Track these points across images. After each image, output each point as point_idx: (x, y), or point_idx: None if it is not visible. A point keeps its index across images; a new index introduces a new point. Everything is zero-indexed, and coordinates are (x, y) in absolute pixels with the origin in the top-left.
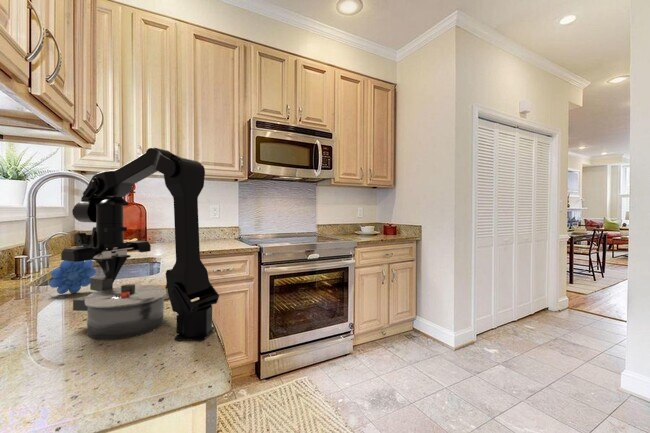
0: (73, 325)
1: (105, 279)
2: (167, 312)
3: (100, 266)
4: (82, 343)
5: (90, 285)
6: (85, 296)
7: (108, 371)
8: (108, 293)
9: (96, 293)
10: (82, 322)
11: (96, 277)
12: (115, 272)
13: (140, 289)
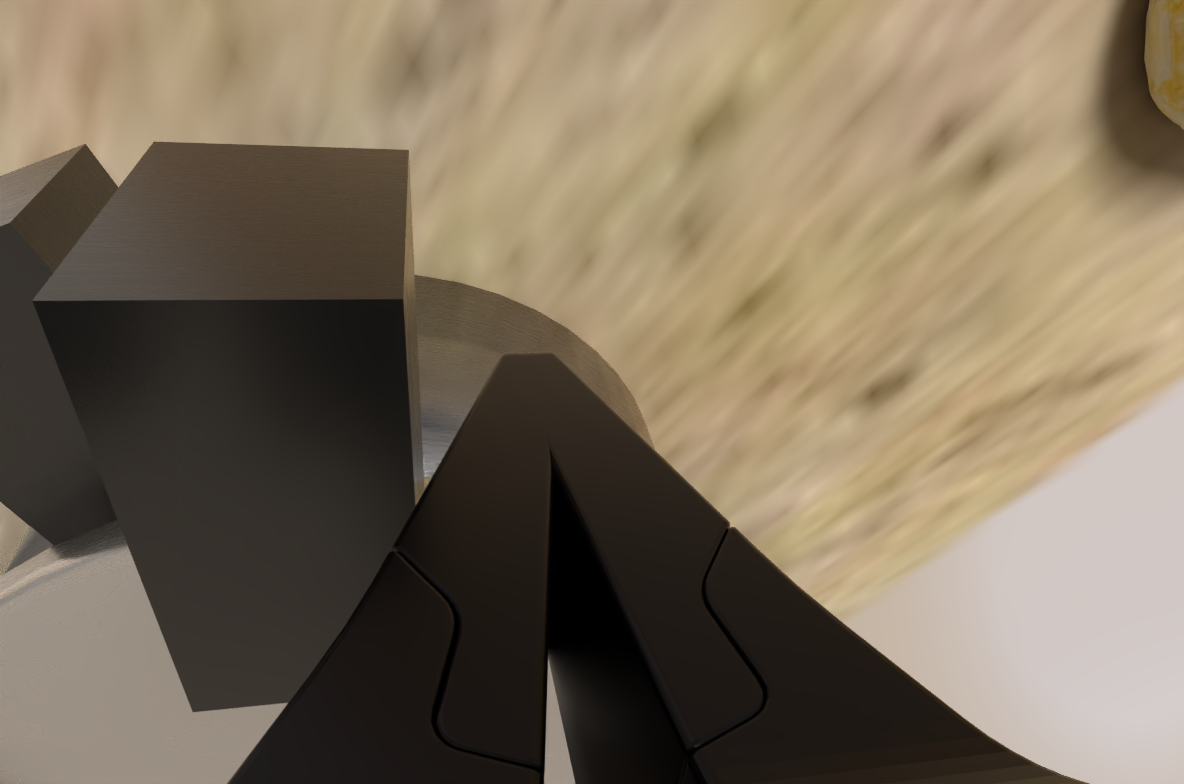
0: (34, 36)
1: (267, 699)
2: (767, 476)
3: (272, 730)
4: (6, 554)
5: (122, 198)
6: (33, 257)
7: None
8: (216, 723)
9: (85, 642)
10: (157, 24)
11: (206, 402)
12: (566, 703)
13: (553, 771)
